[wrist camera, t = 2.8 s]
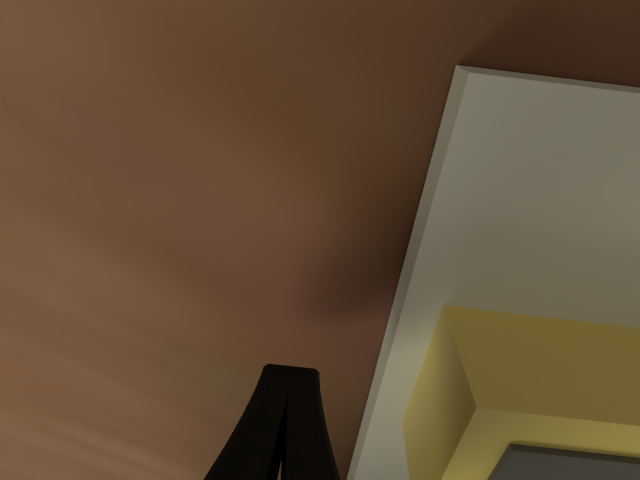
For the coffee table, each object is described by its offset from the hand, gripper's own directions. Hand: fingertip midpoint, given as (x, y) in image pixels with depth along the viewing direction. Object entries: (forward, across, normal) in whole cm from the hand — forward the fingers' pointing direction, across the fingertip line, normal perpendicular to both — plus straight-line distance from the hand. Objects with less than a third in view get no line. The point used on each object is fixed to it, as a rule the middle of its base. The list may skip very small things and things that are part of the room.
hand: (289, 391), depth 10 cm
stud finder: (+1, -8, 0) cm, 8 cm away
